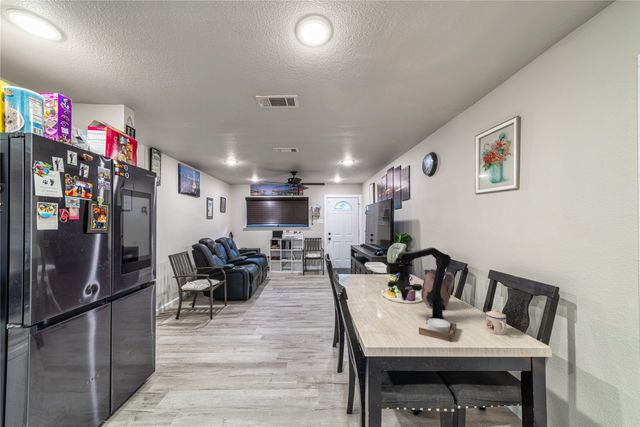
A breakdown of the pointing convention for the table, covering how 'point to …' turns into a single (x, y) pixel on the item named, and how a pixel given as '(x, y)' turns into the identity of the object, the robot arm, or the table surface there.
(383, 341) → the table surface
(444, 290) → the ceramic pitcher
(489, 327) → the teacup with lid
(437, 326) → the ramekin
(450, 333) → the walnut dock
